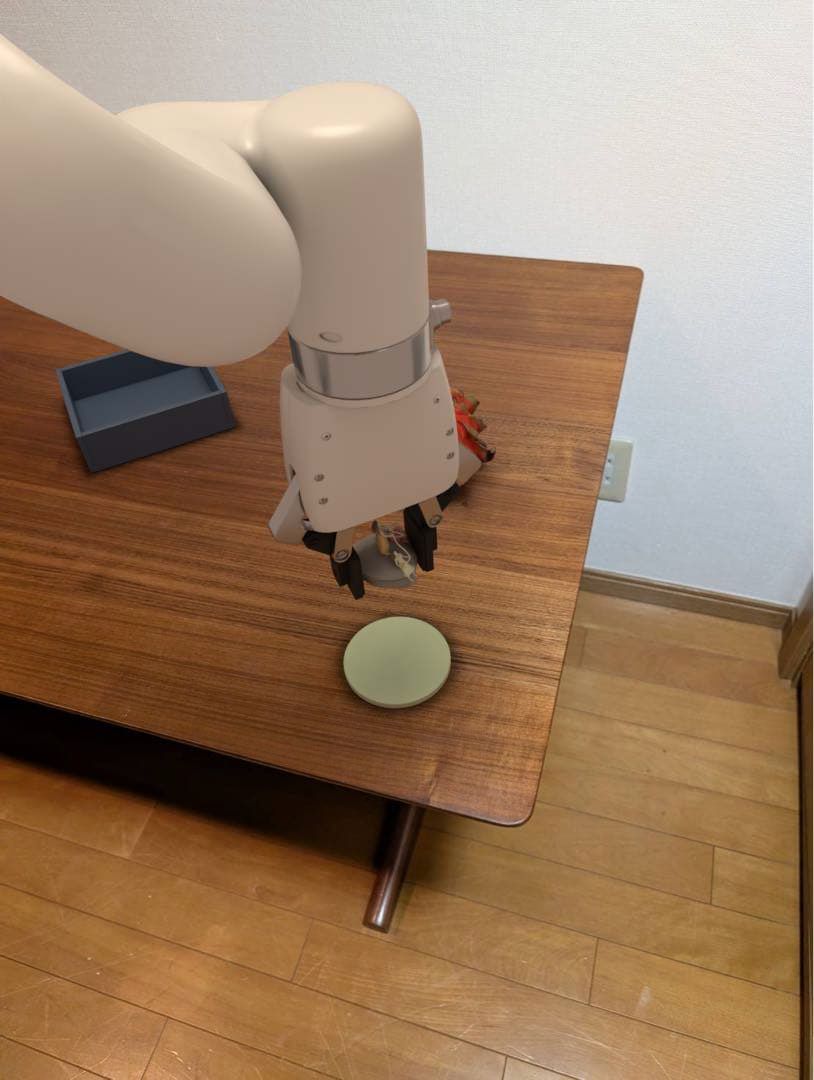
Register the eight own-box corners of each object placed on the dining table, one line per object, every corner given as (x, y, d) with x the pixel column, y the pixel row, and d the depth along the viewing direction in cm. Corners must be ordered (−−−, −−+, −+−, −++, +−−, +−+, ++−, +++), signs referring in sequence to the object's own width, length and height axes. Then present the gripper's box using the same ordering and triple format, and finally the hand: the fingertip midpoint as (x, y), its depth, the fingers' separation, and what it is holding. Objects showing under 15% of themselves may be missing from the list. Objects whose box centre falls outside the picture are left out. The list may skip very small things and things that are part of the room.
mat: (369, 725, 62) (369, 721, 61) (328, 644, 67) (327, 640, 67) (469, 681, 64) (469, 677, 63) (421, 606, 69) (421, 602, 69)
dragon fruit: (438, 435, 87) (463, 524, 80) (370, 411, 83) (391, 504, 76) (488, 379, 82) (520, 470, 75) (419, 350, 77) (446, 444, 70)
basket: (91, 473, 84) (75, 437, 80) (69, 404, 92) (54, 369, 89) (235, 427, 88) (226, 391, 84) (202, 365, 96) (192, 330, 93)
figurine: (339, 578, 58) (328, 516, 54) (380, 541, 61) (373, 480, 56) (396, 613, 56) (390, 552, 52) (437, 574, 58) (434, 512, 54)
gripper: (466, 274, 49) (468, 499, 62) (190, 355, 45) (254, 579, 58) (533, 334, 44) (519, 564, 58) (231, 431, 40) (290, 656, 53)
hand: (386, 569), depth 58 cm, fingers closed on figurine, 4 cm apart
